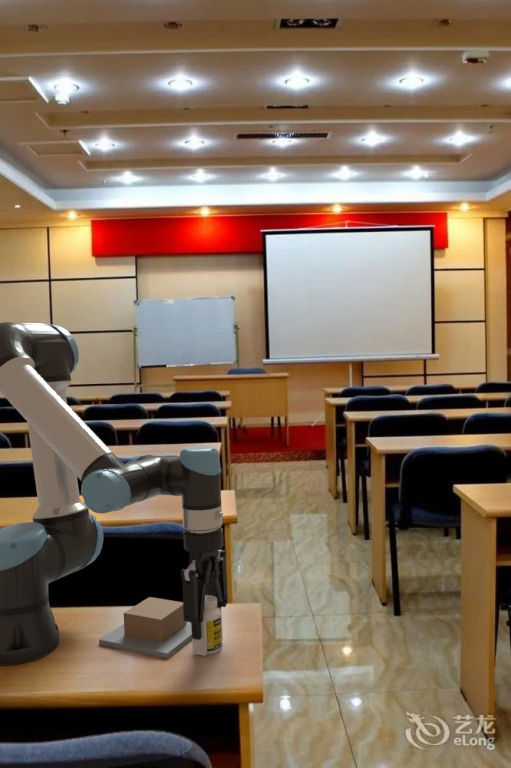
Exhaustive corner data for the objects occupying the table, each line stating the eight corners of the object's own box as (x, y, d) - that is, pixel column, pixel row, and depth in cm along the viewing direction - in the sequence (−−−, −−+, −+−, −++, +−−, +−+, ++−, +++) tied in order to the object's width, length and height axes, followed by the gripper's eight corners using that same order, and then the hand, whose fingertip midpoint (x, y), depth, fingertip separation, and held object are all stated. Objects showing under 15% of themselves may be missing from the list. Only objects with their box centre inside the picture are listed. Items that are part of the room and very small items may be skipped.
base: (99, 644, 126) (98, 617, 126) (146, 613, 140) (145, 589, 140) (167, 658, 119) (166, 629, 119) (209, 624, 133) (208, 599, 133)
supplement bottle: (218, 656, 119) (216, 605, 119) (190, 654, 120) (188, 603, 120) (225, 643, 125) (223, 594, 124) (198, 641, 126) (196, 592, 125)
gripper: (195, 543, 111) (200, 672, 113) (242, 517, 128) (246, 630, 129) (159, 539, 115) (165, 665, 116) (209, 514, 131) (214, 624, 132)
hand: (208, 646), depth 123 cm, fingers closed on supplement bottle, 5 cm apart
